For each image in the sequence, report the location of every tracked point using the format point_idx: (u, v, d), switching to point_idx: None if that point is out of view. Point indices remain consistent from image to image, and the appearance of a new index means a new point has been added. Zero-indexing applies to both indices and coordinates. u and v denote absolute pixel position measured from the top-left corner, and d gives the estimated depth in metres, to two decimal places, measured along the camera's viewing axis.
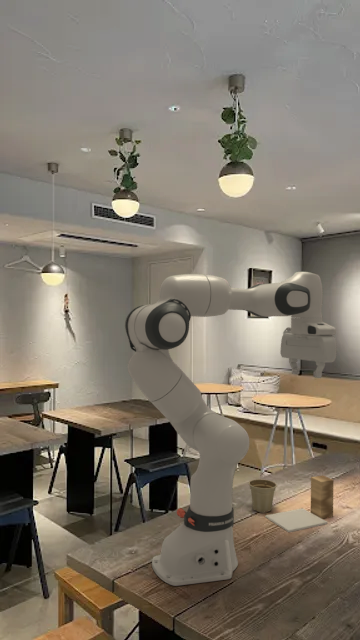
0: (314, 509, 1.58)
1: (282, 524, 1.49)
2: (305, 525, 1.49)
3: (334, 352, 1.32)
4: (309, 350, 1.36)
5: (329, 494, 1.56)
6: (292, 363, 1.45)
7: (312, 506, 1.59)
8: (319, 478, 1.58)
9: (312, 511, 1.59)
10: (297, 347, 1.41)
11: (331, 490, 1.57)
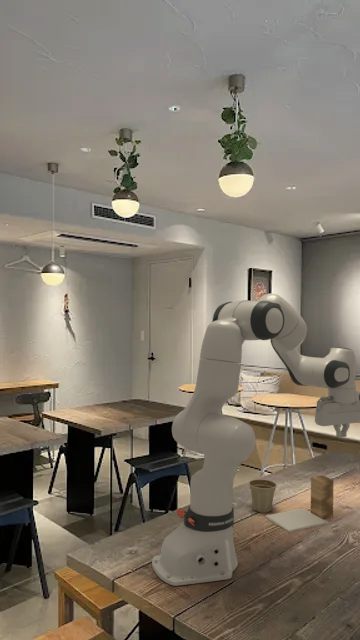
0: (314, 509, 1.58)
1: (282, 524, 1.49)
2: (305, 525, 1.49)
3: None
4: (353, 414, 1.61)
5: (329, 494, 1.56)
6: None
7: (312, 506, 1.59)
8: (319, 478, 1.58)
9: (312, 511, 1.59)
10: (340, 414, 1.59)
11: (331, 490, 1.57)
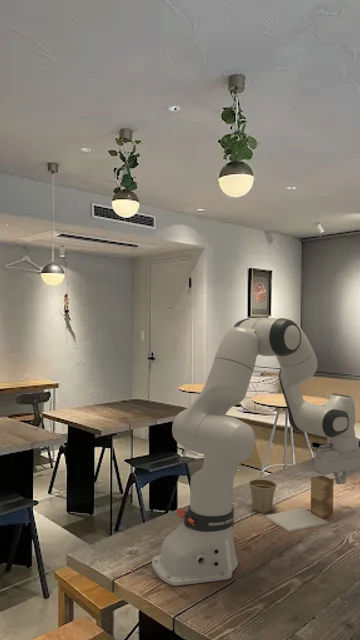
0: (314, 509, 1.58)
1: (282, 524, 1.49)
2: (305, 525, 1.49)
3: None
4: (353, 460, 1.61)
5: (329, 494, 1.56)
6: None
7: (312, 506, 1.59)
8: (319, 478, 1.58)
9: (312, 511, 1.59)
10: (340, 461, 1.59)
11: (331, 490, 1.57)
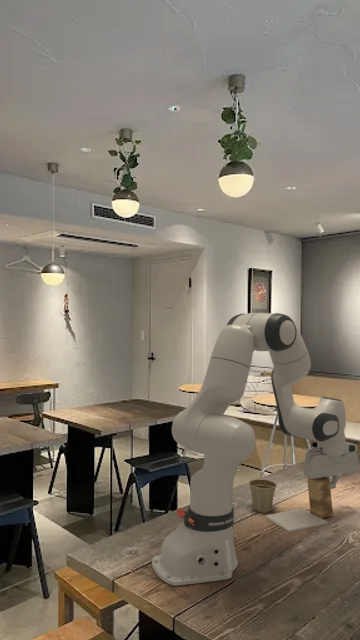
0: (313, 509, 1.58)
1: (282, 524, 1.49)
2: (305, 525, 1.49)
3: None
4: (343, 465, 1.59)
5: (327, 493, 1.56)
6: None
7: (311, 506, 1.58)
8: (315, 478, 1.58)
9: (312, 511, 1.59)
10: (330, 466, 1.57)
11: (328, 489, 1.56)
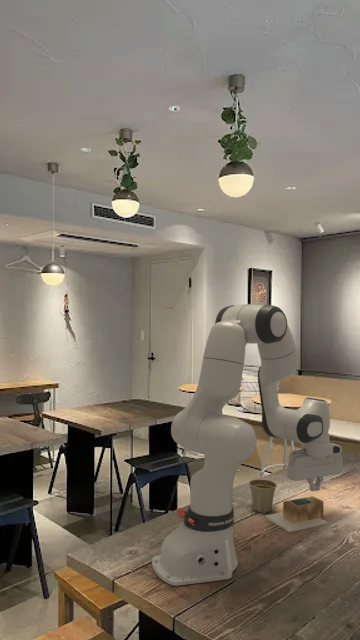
0: None
1: (282, 524, 1.49)
2: (305, 525, 1.49)
3: None
4: (327, 466, 1.57)
5: (304, 510, 1.52)
6: None
7: None
8: (287, 513, 1.53)
9: None
10: (314, 467, 1.54)
11: (301, 508, 1.52)
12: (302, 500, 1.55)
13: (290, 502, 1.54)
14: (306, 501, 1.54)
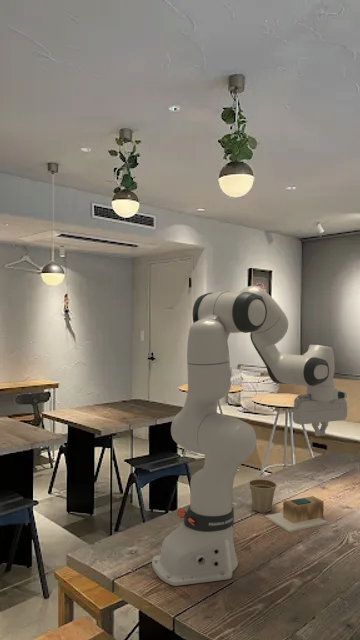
0: None
1: (282, 524, 1.49)
2: (305, 525, 1.49)
3: None
4: (332, 412, 1.59)
5: (304, 510, 1.52)
6: None
7: None
8: (287, 513, 1.53)
9: None
10: (319, 412, 1.56)
11: (301, 508, 1.52)
12: (302, 500, 1.55)
13: (290, 502, 1.54)
14: (306, 501, 1.54)
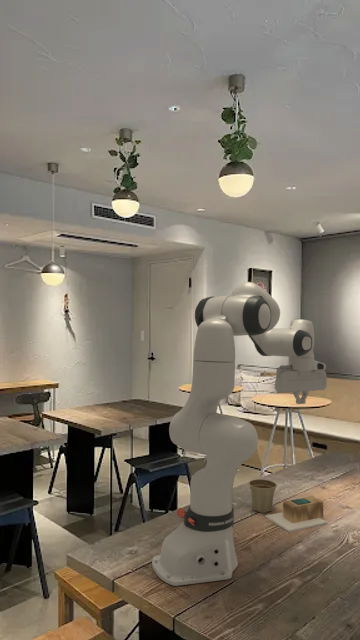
0: None
1: (282, 524, 1.49)
2: (305, 525, 1.49)
3: None
4: (312, 382, 1.71)
5: (304, 510, 1.52)
6: None
7: None
8: (287, 513, 1.53)
9: None
10: (299, 381, 1.69)
11: (301, 508, 1.52)
12: (302, 500, 1.55)
13: (290, 502, 1.54)
14: (306, 501, 1.54)
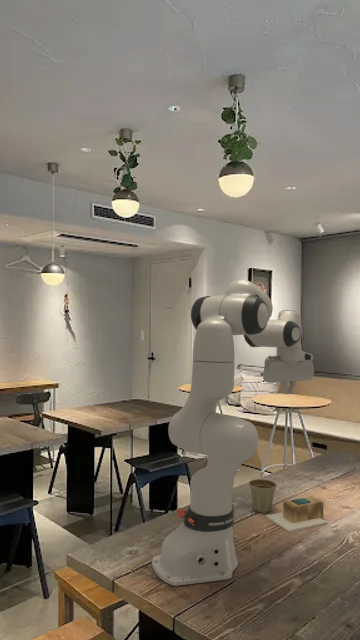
0: None
1: (282, 524, 1.49)
2: (305, 525, 1.49)
3: None
4: (299, 372, 1.74)
5: (304, 510, 1.52)
6: None
7: None
8: (287, 513, 1.53)
9: None
10: (287, 372, 1.72)
11: (301, 508, 1.52)
12: (302, 500, 1.55)
13: (290, 502, 1.54)
14: (306, 501, 1.54)
